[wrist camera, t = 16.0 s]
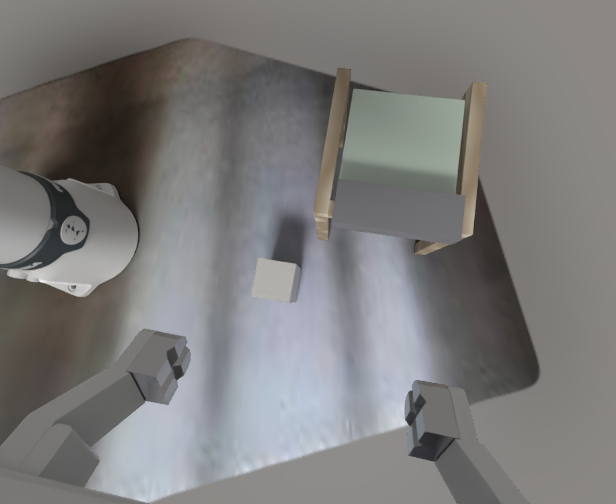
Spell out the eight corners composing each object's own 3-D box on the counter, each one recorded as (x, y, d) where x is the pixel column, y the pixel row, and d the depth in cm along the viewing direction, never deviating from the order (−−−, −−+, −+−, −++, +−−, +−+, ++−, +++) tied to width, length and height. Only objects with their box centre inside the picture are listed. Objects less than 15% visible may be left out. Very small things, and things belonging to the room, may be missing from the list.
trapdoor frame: (318, 238, 47) (313, 211, 32) (334, 138, 49) (337, 67, 34) (424, 254, 46) (472, 234, 31) (436, 150, 48) (487, 83, 33)
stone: (264, 296, 47) (250, 296, 39) (270, 264, 47) (258, 257, 39) (295, 301, 46) (289, 302, 38) (301, 269, 47) (296, 263, 39)
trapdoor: (331, 229, 33) (331, 221, 29) (352, 94, 35) (355, 70, 31) (445, 246, 32) (461, 240, 28) (461, 106, 34) (477, 83, 30)
